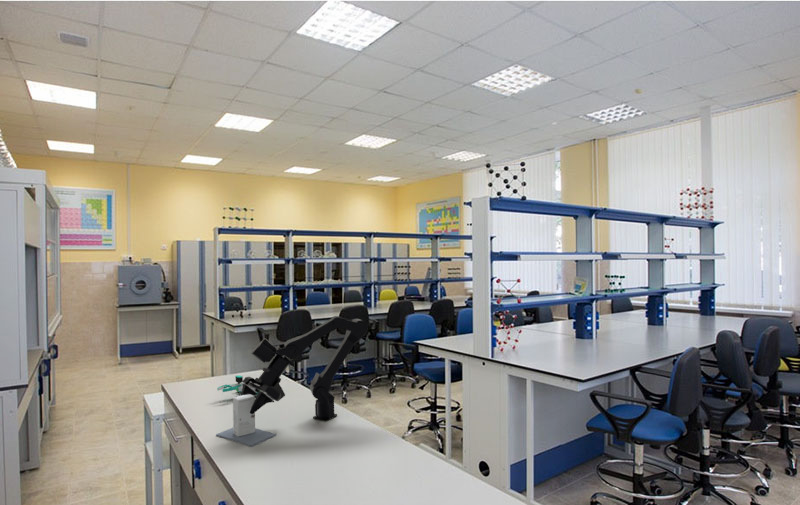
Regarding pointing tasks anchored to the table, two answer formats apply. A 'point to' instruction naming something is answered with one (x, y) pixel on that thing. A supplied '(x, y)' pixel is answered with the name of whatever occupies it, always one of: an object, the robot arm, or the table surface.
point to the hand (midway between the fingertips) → (244, 410)
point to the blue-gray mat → (247, 437)
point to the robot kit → (234, 385)
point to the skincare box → (243, 415)
